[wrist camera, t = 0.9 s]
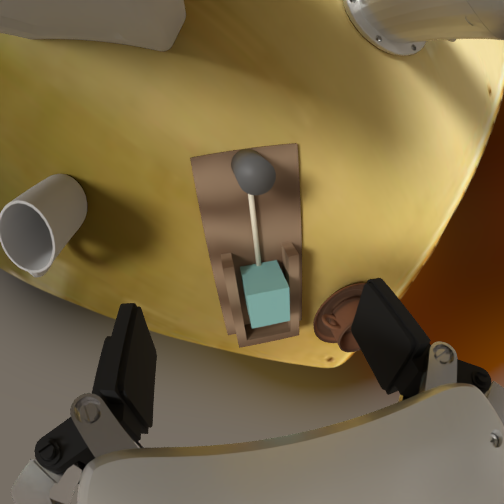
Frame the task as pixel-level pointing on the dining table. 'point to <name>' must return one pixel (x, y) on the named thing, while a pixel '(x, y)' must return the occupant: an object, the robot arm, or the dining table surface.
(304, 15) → the dining table surface
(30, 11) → the tall white carton
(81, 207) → the cup
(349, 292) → the cup and saucer
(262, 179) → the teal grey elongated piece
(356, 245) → the dining table surface
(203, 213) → the lane
